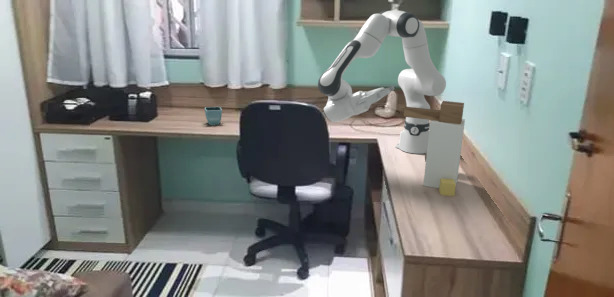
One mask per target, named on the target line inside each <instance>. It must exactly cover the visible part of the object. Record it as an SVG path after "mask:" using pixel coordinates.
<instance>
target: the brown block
mask: <svg viewBox="0 0 614 297" xmlns="http://www.w3.org/2000/svg"><path fill="white" fill-rule="evenodd" d="M464 107H465V102H459V101H450V100H449V101H448V100H442V102H441V103H440V109H433V108H430V109H424V108H415V107H407V106H405V107H404V108H403V109H404V110H403V118H406V117H410V118H419V119H427V120H429V121H431V120H436V121H439V122H445V123H453V124H461V122H462V119H463V116H464Z"/></svg>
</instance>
